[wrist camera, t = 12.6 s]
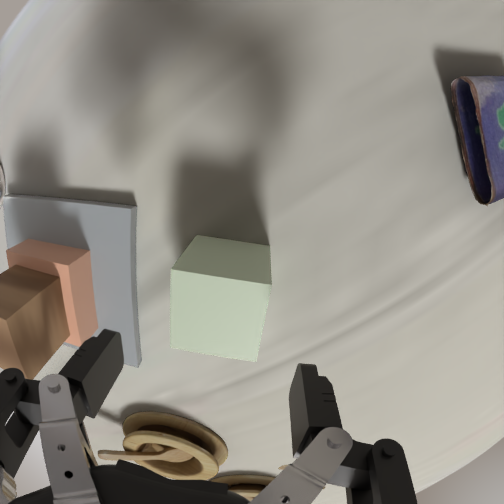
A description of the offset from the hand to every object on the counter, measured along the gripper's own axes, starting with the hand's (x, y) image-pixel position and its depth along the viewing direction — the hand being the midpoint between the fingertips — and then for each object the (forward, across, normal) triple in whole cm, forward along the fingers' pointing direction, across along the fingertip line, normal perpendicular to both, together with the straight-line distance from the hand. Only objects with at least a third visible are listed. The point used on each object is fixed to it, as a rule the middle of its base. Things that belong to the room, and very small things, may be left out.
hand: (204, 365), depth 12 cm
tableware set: (+11, -1, +30) cm, 32 cm away
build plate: (+9, +14, +3) cm, 17 cm away
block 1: (+5, +14, +3) cm, 15 cm away
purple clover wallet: (+10, -16, -13) cm, 23 cm away
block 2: (+9, 0, 0) cm, 9 cm away
